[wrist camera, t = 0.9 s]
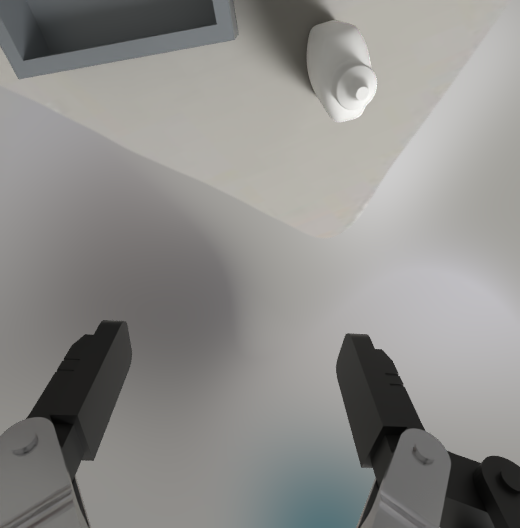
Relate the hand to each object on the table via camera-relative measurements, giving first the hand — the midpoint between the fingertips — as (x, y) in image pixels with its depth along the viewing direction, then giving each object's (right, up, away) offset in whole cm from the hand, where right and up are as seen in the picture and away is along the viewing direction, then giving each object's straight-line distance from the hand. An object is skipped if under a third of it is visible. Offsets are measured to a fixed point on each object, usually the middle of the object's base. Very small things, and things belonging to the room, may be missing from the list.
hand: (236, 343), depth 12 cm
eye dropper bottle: (+6, +20, +15) cm, 26 cm away
